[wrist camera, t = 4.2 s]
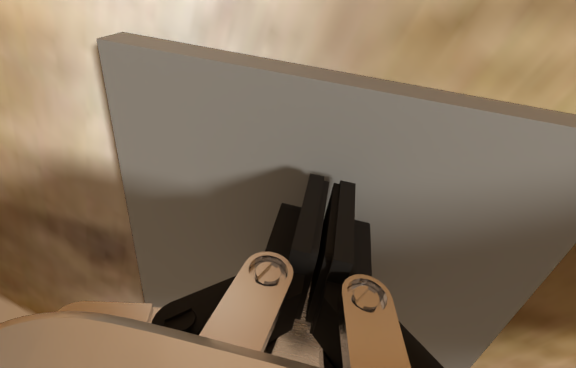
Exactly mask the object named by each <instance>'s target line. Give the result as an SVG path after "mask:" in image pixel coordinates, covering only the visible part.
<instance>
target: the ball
mask: <svg viewBox="0 0 576 368" xmlns="http://www.w3.org/2000/svg"><path fill="white" fill-rule="evenodd" d="M311 281H312V280H311ZM310 288H311V283H310V287H309V290H308V294H307V298H306V301H305V305H304V308H303V312H302V315H301V319H300V320H298V319H295V321H294V324H293V328H292V330H291V331H289V332H287V333H285V334H284V335H282V336H280V337H279V338H278V343H277V345H276V348H275V350H274V353H273V355H275V356H279V357H283V358H286V359H290V360H294V361H298V362H301V363H305V364H309V365H313V366H316V367H319V349H320V345H319V343H318V342H317V341H316V339H315V338H314V337H313V335H312V334H310V327H311V323H309V322H305V319H306V313H307V306H308V300H309V294H310Z"/></svg>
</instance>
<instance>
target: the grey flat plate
mask: <svg viewBox="0 0 576 368" xmlns="http://www.w3.org/2000/svg"><path fill="white" fill-rule="evenodd" d="M97 44H98V50H99V55H100V61H101V66H102V72H103V77H104V83H105V88H106V94H107V99H108V104H109V110H110V115H111V121H112V126H113V132H114V137H115V143H116V148H117V154H118V159H119V165H120V170H121V175H122V181H123V186H124V192H125V197H126V203H127V208H128V214H129V219H130V225H131V230H132V236H133V241H134V246H135V252H136V257H137V263H138V268H139V274H140V279H141V285H142V290H143V296H144V301H145V303H151V304H153V307H158V308H162V307H163V306H165V305H167V304H168V303H170V302H172V301H175V300H177V299H180V298H182V297H185V296H187V295H189V294H192V293H194V292H197V291H199V290H202V289H204V288H207V287H209V286H212V285H214V284H217V283H219V282H221V281H224V280H226V279H229V278H231V277H234V276H236V275H237V274H238V272H239V271H240V269H241V268H242V266H243V265H244V263H245V261H246V260H247V259H248V258H249V257H250V256H252V255H254V254H255V253H259V252H265V249H266V247H267V244H268V241H269V238H270V235H271V232H272V229H273V226H274V223H275V220H276V218H277V215H278V212H279V209H280V206H281V204H282V203H286V204H290V205H294V206H298V207H302V203H303V199H304V196H305V192H306V188H307V184H308V180H309V176H310V173H311V174H315V175H320V176H324V181H329V188H328V195H327V201H326V208H325V213H326V210H327V206H328V202H329V199H330V195H331V191H332V187H333V184H334V183H338V184H339V183H340V180H342V181H347V182H351V183H355V184H356V188H355V220H359V221H363V222H367V223H369V224H370V234H371V263H372V277H373V278H375V279H377V280H379V281H380V282H381V283H383V284H384V285H385V286H386V287H387V289H388V290H389V291H390V294H391V296H392V298H393V302H394V306H395V310H396V313H397V317H398V321H399V322H400V323H401V324H402V325H403V326H404V327H405V328H406V329H407V330H408V331H409V332H410V333H411V334H412V335H413V336H414V337H415V338H416V339H417V340H418V341H419V342H420V343H421V344H422V345H423V346H424V347H425V348H426V349H427V351H428V352H429V353H430V354H431V355H432V356H433V357H434V358H435V359H436V360H437V361H438V362H439V363H440V364H441V365H442V366H443V367H444V368H470V367H471V366H472V365H473V364H474V363H475V361H476V360H477V359H478V358H479V357H480V356H481V354H482V353H483V352H484V351H485V350H486V349H487V347H488V346H489V345H490V344H491V343H492V341H493V340H494V339H495V338H496V337H497V336H498V334H499V333H500V332H501V331H502V330H503V328H504V327H505V326H506V325H507V324H508V323H509V321H510V320H511V319H512V318H513V317H514V315H515V314H516V313H517V312H518V311H519V310H520V308H521V307H522V306H523V305H524V304H525V302H526V301H527V300H528V299H529V298H530V297H531V295H532V294H533V293H534V292H535V291H536V290H537V288H538V287H539V286H540V285H541V284H542V282H543V281H544V280H545V279H546V278H547V277H548V275H549V274H550V273H551V272H552V271H553V269H554V268H555V267H556V266H557V265H558V264H559V262H560V261H561V260H562V259H563V258H564V256H565V255H566V254H567V253H568V252H569V251H570V249H571V248H572V247H573V246H574V245H575V243H576V115H575V114H569V113H564V112H558V111H553V110H547V109H542V108H536V107H531V106H525V105H520V104H514V103H509V102H503V101H498V100H492V99H487V98H481V97H476V96H470V95H465V94H459V93H454V92H448V91H443V90H438V89H432V88H427V87H421V86H416V85H410V84H405V83H399V82H394V81H388V80H383V79H377V78H372V77H366V76H361V75H355V74H350V73H344V72H339V71H333V70H328V69H322V68H317V67H311V66H306V65H301V64H295V63H290V62H284V61H279V60H273V59H268V58H262V57H257V56H251V55H246V54H240V53H235V52H229V51H224V50H218V49H213V48H207V47H202V46H196V45H191V44H185V43H180V42H174V41H169V40H164V39H158V38H153V37H147V36H142V35H136V34H131V33H125V32H121V33H117V34H113V35H109V36H105V37H101V38H97ZM324 217H325V214H324Z"/></svg>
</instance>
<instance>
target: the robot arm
mask: <svg viewBox="0 0 576 368" xmlns="http://www.w3.org/2000/svg"><path fill="white" fill-rule="evenodd" d="M328 188H329V181H324V176H320V175H315V174H311V173H310V176H309V180H308V184H307V188H306V192H305V196H304V199H303V203H302V207H298V206H294V205H290V204H286V203H282V204H281V206H280V209H279V212H278V215H277V218H276V220H275V223H274V226H273V229H272V232H271V235H270V238H269V241H268V244H267V247H266V249H265V252H259V253H255V254H254V255H252V256H250V257H249V258H248V259H247V260H246V261H245V263H244V265H243V266H242V268H241V269H240V271H239V272H238V274H237V275H236V276H234V277H231V278H229V279H226V280H224V281H221V282H219V283H217V284H214V285H212V286H209V287H207V288H204V289H202V290H199V291H197V292H194V293H192V294H189V295H187V296H185V297H182V298H180V299H177V300H175V301H172V302H170V303H168V304H167V305H165V306H163V307H162V308H158V307H153V304H151V303H125V302H100V301H79V302H73V303H71V304H68V305H65V306H63V307H62V308H61V309H59V310H58V311H56V312H48V313H39V314H32V315H28V316H22V317H19V318H15V319H11V320H8V321H6V322H3V323H0V368H444V367H443V366H442V365H441V364H440V363H439V362H438V361H437V360H436V359H435V358H434V357H433V356H432V355H431V354H430V353H429V352H428V351H427V349H426V348H425V347H424V346H423V345H422V344H421V343H420V342H419V341H418V340H417V339H416V338H415V337H414V336H413V335H412V334H411V333H410V332H409V331H408V330H407V329H406V328H405V327H404V326H403V325H402V324H401V323H400V322H399V321H398V317H397V313H396V310H395V306H394V302H393V298H392V296H391V294H390V291H389V290H388V289H387V287H386V286H385V285H384V284H383V283H381V282H380V281H379V280H377V279H375V278H373V277H372V263H371V234H370V224H369V223H367V222H363V221H359V220H355V188H356V184H355V183H351V182H347V181H342V180H340V183H339V184H338V183H334V184H333V187H332V191H331V195H330V199H329V202H328V206H327V210H326V213H325V208H326V201H327V195H328ZM324 214H325V217H324ZM311 280H312V281H311ZM310 283H311V288H310V294H309V300H308V306H307V313H306V319H305V322H309V323H311V327H310V334H312V335H313V337H314V338H315V339H316V341H317V342H318V343H319V345H320V349H319V367H316V366H313V365H309V364H305V363H301V362H298V361H294V360H290V359H286V358H283V357H279V356H275V355H273V353H274V350H275V348H276V345H277V343H278V338H279V337H280V336H282V335H284V334H285V333H287V332H289V331H291V330H292V328H293V324H294V321H295V319H298V320H300V319H301V315H302V312H303V308H304V305H305V301H306V298H307V294H308V290H309V287H310Z"/></svg>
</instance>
